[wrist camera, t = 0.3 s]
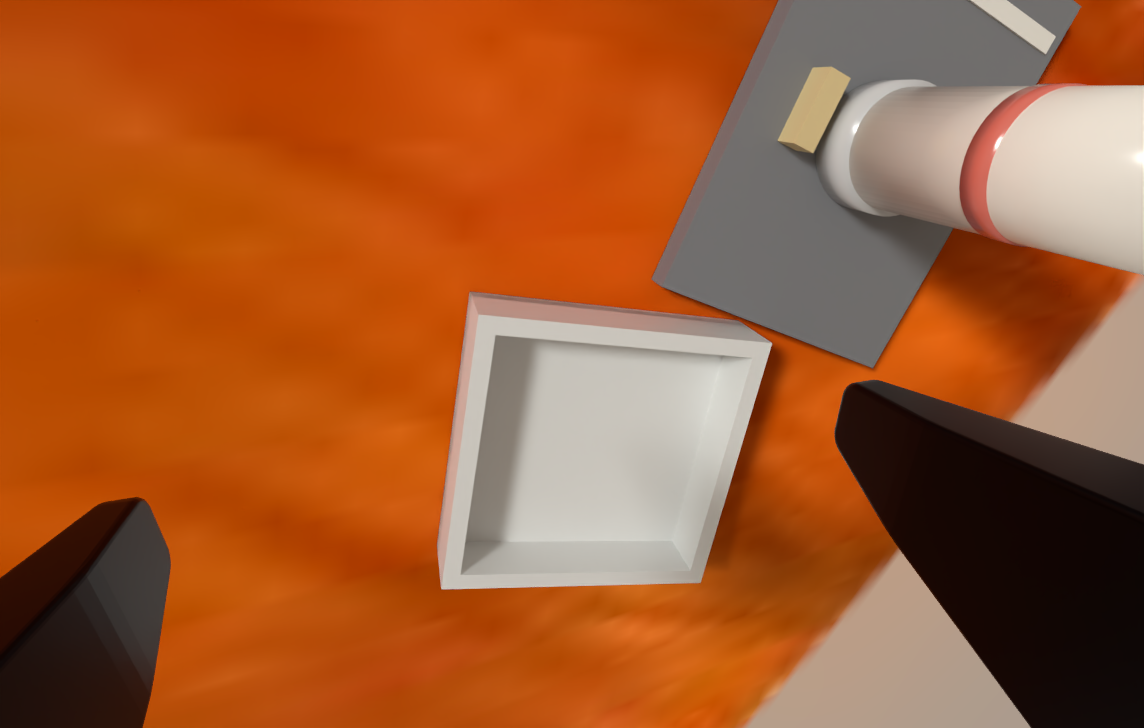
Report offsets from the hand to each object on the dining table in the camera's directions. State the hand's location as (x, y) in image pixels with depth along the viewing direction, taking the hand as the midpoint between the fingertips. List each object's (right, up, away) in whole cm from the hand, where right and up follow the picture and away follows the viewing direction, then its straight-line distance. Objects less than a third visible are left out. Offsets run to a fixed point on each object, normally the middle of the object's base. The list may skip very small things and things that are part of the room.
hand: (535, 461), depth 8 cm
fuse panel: (+10, +9, +15) cm, 20 cm away
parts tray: (+1, -1, +17) cm, 17 cm away
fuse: (+11, +9, +14) cm, 20 cm away
